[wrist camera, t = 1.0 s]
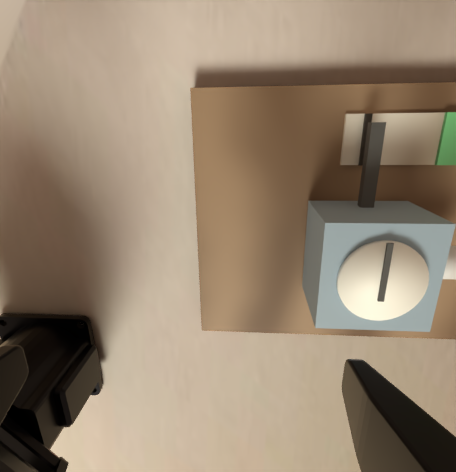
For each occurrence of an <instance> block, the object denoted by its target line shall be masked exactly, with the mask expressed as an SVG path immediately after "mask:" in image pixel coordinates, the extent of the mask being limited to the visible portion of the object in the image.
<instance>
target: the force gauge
mask: <svg viewBox="0 0 456 472" xmlns="http://www.w3.org/2000/svg"><path fill="white" fill-rule="evenodd" d="M385 128H386V122H368V126H367V134H366V142H365V150H364V158H363V166H362V173H361V181H360V189H359V197H358V201H308V213H307V226H306V240H305V253H304V267H303V280H302V287H303V290H304V294H305V297H306V300H307V303H308V306H309V310H310V313H311V316H312V319H313V322H314V326H315V328H327V329H356V330H386V331H416V332H430V330H431V326H432V321H433V317H434V313H435V309H436V305H437V301H438V296H439V292H440V288H441V284H442V280H443V279H453V280H456V246H451V242H452V238H453V234H454V229H455V225H456V224H454V223H452V222H450V221H448V220H446V219H444V218H442V217H440V216H438V215H436V214H434V213H432V212H430V211H427V210H425V209H423V208H421V207H419V206H417V205H415V204H413V203H411V202H409V201H375V196H376V189H377V183H378V176H379V169H380V162H381V155H382V148H383V142H384V135H385Z"/></svg>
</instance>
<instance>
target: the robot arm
mask: <svg viewBox="0 0 456 472" xmlns="http://www.w3.org/2000/svg"><path fill="white" fill-rule="evenodd" d="M5 321H6V322H5ZM80 322H81V323H83V324H84V325H82V324H81V323H80ZM0 338H1V339H0V472H66V469H67V466H68V462H67V461H66V460H65V459H63V458H62V457H60V458H59V457H58V456H57V455H55V454H54V453H53V452H52V451H51V450H50V449H51V447H52V445H53V444H54V442H55V441H56V439H57V437H58V436H59V434H60V433H61V431H62V429H63V428H64V427H70V426H71V425H72V424H73V423H74V421H75V419H76V418H77V416H78V415H79V413H80V411H81V410H82V408H83V406H84V405H85V403H86V401H87V400H88V398H89V396H90V395H98V394H99V393H100V391H101V389H102V381H101V376H102V373H101V368H100V362H99V357H98V351H97V348H96V346H95V343H94V337H93V332H92V326H91V322H90V320H89V319H88V318H87V317H85V316H73V315H42V314H11V313H4V314H2V315H0ZM342 393H343V398H344V403H345V407H346V412H347V416H348V421H349V425H350V430H351V434H352V439H353V443H354V448H355V452H356V456H357V459H358V463H359V466H360V469H361V472H456V437H455V436H454V435H453V434H451V433H450V432H449V431H448V430H447V429H445V428H444V427H443V426H442V425H441V424H439V423H438V422H437V421H436V420H435V419H433V418H432V417H431V416H430V415H429V414H427V413H426V412H425V411H424V410H423V409H421V408H420V407H419V406H418V405H417V404H415V403H414V402H413V401H412V400H411V399H409V398H408V397H407V396H406V395H405V394H403V393H402V392H401V391H400V390H399V389H398V388H396V387H395V386H394V385H393V384H392V383H390V382H389V381H388V380H387V379H386V378H384V377H383V376H382V375H381V374H380V373H378V372H377V371H376V370H375V369H374V368H372V367H371V366H370V365H369V364H368V363H366V362H365V361H364V360H360V359H348V360H346V362H345V366H344V373H343V380H342Z"/></svg>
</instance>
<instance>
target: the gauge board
mask: <svg viewBox="0 0 456 472" xmlns="http://www.w3.org/2000/svg"><path fill="white" fill-rule="evenodd" d="M191 110H192V131H193V152H194V173H195V195H196V216H197V237H198V259H199V280H200V301H201V323H202V330H204V331H233V332H262V333H290V334H319V335H348V336H377V337H405V338H434V339H456V280H453V279H443V280H442V284H441V288H440V292H439V296H438V301H437V305H436V309H435V313H434V317H433V321H432V326H431V330H430V332H416V331H386V330H356V329H327V328H315V326H314V322H313V319H312V316H311V313H310V310H309V306H308V303H307V300H306V297H305V294H304V290H303V287H302V280H303V267H304V253H305V240H306V226H307V213H308V201H358V197H359V189H360V181H361V173H362V166H363V158H364V150H365V142H366V134H367V126H368V122H386V128H385V135H384V142H383V148H382V155H381V162H380V169H379V176H378V183H377V189H376V196H375V201H409V202H411V203H413V204H415V205H417V206H419V207H421V208H423V209H425V210H427V211H430V212H432V213H434V214H436V215H438V216H440V217H442V218H444V219H446V220H448V221H450V222H452V223H454V224H456V82H437V83H392V84H346V85H300V86H254V87H208V88H191ZM451 246H456V225H455V229H454V234H453V238H452V242H451Z"/></svg>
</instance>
